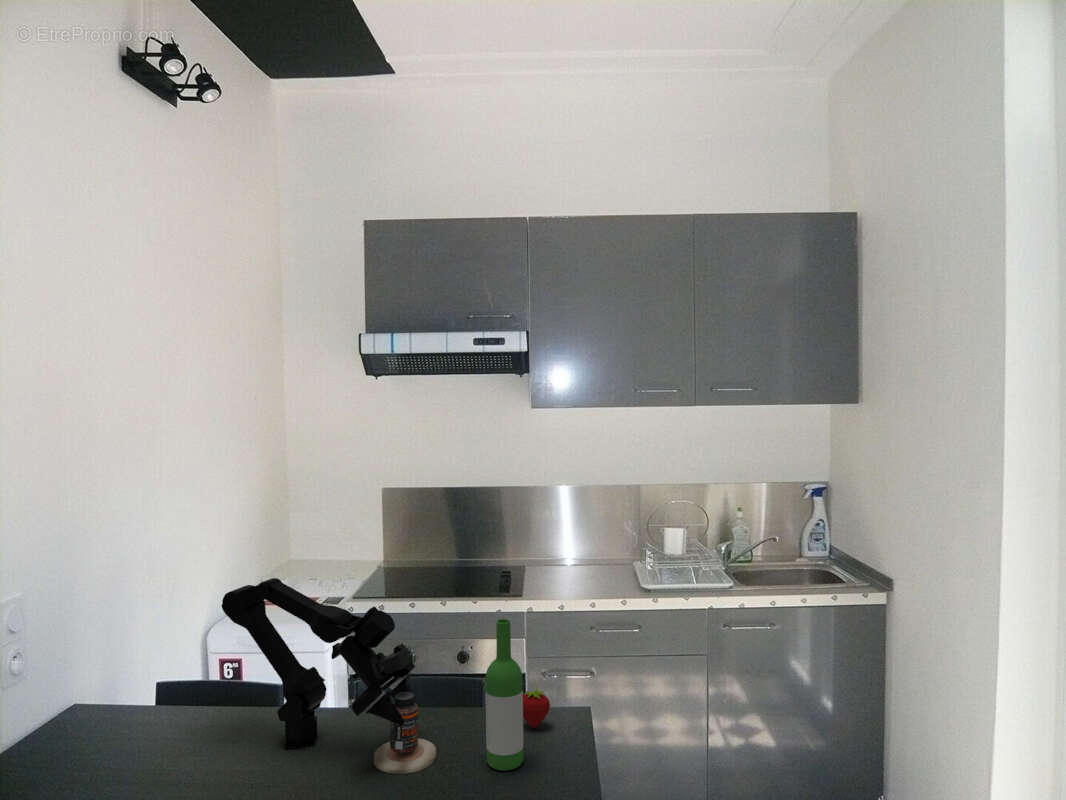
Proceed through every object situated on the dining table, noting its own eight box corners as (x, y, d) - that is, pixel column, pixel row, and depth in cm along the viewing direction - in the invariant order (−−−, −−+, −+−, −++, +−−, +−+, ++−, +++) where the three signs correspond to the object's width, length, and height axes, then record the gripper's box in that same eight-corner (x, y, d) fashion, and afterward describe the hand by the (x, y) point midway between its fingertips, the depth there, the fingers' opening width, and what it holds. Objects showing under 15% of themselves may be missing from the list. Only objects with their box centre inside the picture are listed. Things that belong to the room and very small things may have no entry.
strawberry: (519, 721, 174) (518, 679, 173) (551, 722, 173) (550, 679, 173) (516, 733, 168) (515, 689, 168) (549, 734, 167) (549, 690, 167)
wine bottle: (489, 774, 150) (487, 628, 149) (484, 756, 157) (482, 616, 157) (526, 770, 151) (525, 625, 151) (519, 752, 159) (518, 613, 158)
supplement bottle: (403, 757, 153) (403, 703, 152) (383, 749, 156) (383, 696, 156) (424, 746, 158) (423, 693, 157) (404, 738, 161) (404, 687, 161)
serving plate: (375, 777, 149) (375, 771, 149) (372, 747, 162) (372, 741, 162) (439, 768, 152) (439, 762, 152) (432, 739, 165) (431, 734, 165)
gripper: (364, 651, 149) (414, 713, 146) (407, 623, 167) (452, 677, 163) (330, 685, 151) (378, 747, 148) (376, 654, 169) (420, 708, 166)
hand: (409, 717), depth 156 cm, fingers closed on supplement bottle, 6 cm apart
